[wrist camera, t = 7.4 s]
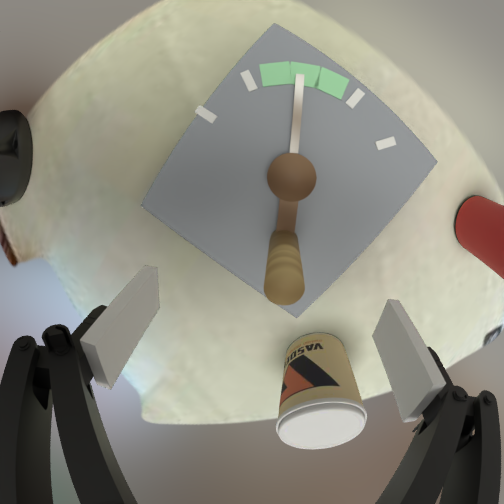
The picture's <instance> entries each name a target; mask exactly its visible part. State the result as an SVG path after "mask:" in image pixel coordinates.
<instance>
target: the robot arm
mask: <svg viewBox="0 0 504 504" xmlns="http://www.w3.org/2000/svg"><path fill="white" fill-rule="evenodd" d="M31 163H32V141H31V134H30V129H29V125H28V123H27V120H26V118H25V117H24V115H23V114H22V113H21V112H19V111H17V110H7V111H2V112H0V207H4V206H7V205H10V204H12V203H15V202H17V201H18V200H19V199H20V198H21V197H22V195H23V193H24V192H25V189H26V187H27V184H28V181H29V176H30V171H31ZM159 308H160V304H159V290H158V272H157V267H152V266H147V265H145V266H144V267H143V268H142V269H141V270H140V271H139V272H138V273H137V274H136V276H135V277H134V278H133V279H132V280H131V281H130V282H129V283H128V284H127V285H126V287H125V288H124V289H123V290H122V291H121V292H120V293H119V294H118V295H117V297H116V298H115V299H114V300H113V301H112V302H111V303H110V305H109V306H108V307H107V306H103V305H101V306H99V307H97V308H95V309H94V310H92V312H91V313H90V314H89V315H88V317H86V318H85V319H84V321H83V323H81V324H80V325H79V327H77V329H76V330H75V331H74V332H73V333H72V334H70V331H69V329H68V328H67V327H66V326H64V325H61V324H58V325H52V326H50V327H48V328H47V329H46V330H45V331H44V332H43V334H42V339H43V341H44V344H45V346H39V345H37V344H36V341H35V339H34V338H33V337H31V336H22V337H20V338H18V339H17V340H16V341H15V342H14V344H13V346H12V349H11V352H10V355H9V357H8V361H7V364H6V367H5V370H4V374H3V377H2V380H1V384H0V504H53V499H52V487H51V471H50V436H51V418H52V407H53V405H54V411H55V417H56V422H57V427H58V431H59V436H60V441H61V445H62V449H63V453H64V456H65V459H66V463H67V467H68V470H69V473H70V476H71V479H72V482H73V485H74V488H75V490H76V493H77V496H78V498H79V501H80V503H81V504H137V501H136V500H135V498H134V496H133V494H132V492H131V490H130V488H129V486H128V484H127V482H126V480H125V478H124V476H123V474H122V471H121V469H120V467H119V465H118V463H117V460H116V458H115V455H114V453H113V451H112V448H111V445H110V443H109V440H108V437H107V435H106V432H105V429H104V426H103V423H102V420H101V417H100V414H99V411H98V408H97V404H96V401H95V397H94V394H93V390H92V386H91V384H90V381H91V379H92V378H93V376H94V379H95V381H96V383H97V385H100V386H103V387H105V388H108V389H110V390H111V389H112V387H113V385H114V383H115V382H116V380H117V378H118V377H119V375H120V373H121V371H122V370H123V368H124V366H125V364H126V363H127V361H128V359H129V358H130V356H131V354H132V352H133V351H134V349H135V347H136V346H137V344H138V342H139V341H140V339H141V337H142V336H143V334H144V333H145V331H146V329H147V328H148V326H149V324H150V323H151V321H152V320H153V318H154V316H155V315H156V313H157V311H158V310H159ZM372 337H373V339H374V342H375V344H376V347H377V349H378V352H379V354H380V357H381V360H382V362H383V365H384V368H385V371H386V373H387V376H388V379H389V382H390V385H391V388H392V390H393V393H394V396H395V399H396V402H397V405H398V408H399V412H400V415H401V418H402V421H403V422H410V421H415V420H416V419H417V418H418V417H419V416H420V415H421V414H423V417H424V419H423V420H422V421H421V422H420V423H419V424H418V425H417V427H415V428H414V430H413V432H415V431H416V430H417V431H416V433H415V436H414V438H413V440H412V442H411V444H410V446H409V448H408V450H407V452H406V454H405V456H404V458H403V459H402V461H401V463H400V465H399V467H398V468H397V470H396V472H395V474H394V475H393V477H392V479H391V480H390V482H389V484H388V485H387V487H386V488H385V490H384V491H383V493H382V494H381V496H380V498H379V499H378V501H377V502H376V503H375V504H435V503H436V500H437V498H438V496H439V494H440V492H441V489H442V487H443V489H442V494H441V499H440V503H439V504H498V501H499V492H500V478H501V439H500V425H499V415H498V407H497V401H496V398H495V396H494V395H493V394H492V393H491V392H489V391H485V390H484V391H482V392H481V393H480V394H479V395H478V396H477V397H472V396H468V394H467V393H466V391H465V390H464V389H463V388H461V387H459V386H454V385H453V383H452V381H451V379H450V378H449V376H448V374H447V372H446V370H445V368H444V367H443V364H442V363H441V361H440V359H439V357H438V355H437V354H436V352H435V351H434V350H433V349H432V348H431V347H427V346H426V344H425V343H424V341H423V339H422V338H421V336H420V334H419V332H418V331H417V329H416V327H415V326H414V324H413V322H412V321H411V319H410V317H409V316H408V314H407V313H406V311H405V309H404V308H403V306H402V305H401V303H400V301H399V300H393V299H388V300H387V303H386V305H385V308H384V310H383V312H382V315H381V317H380V319H379V322H378V324H377V326H376V329H375V331H374V333H373V335H372ZM474 429H475V434H474V435H472V431H473V430H474Z"/></svg>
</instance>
